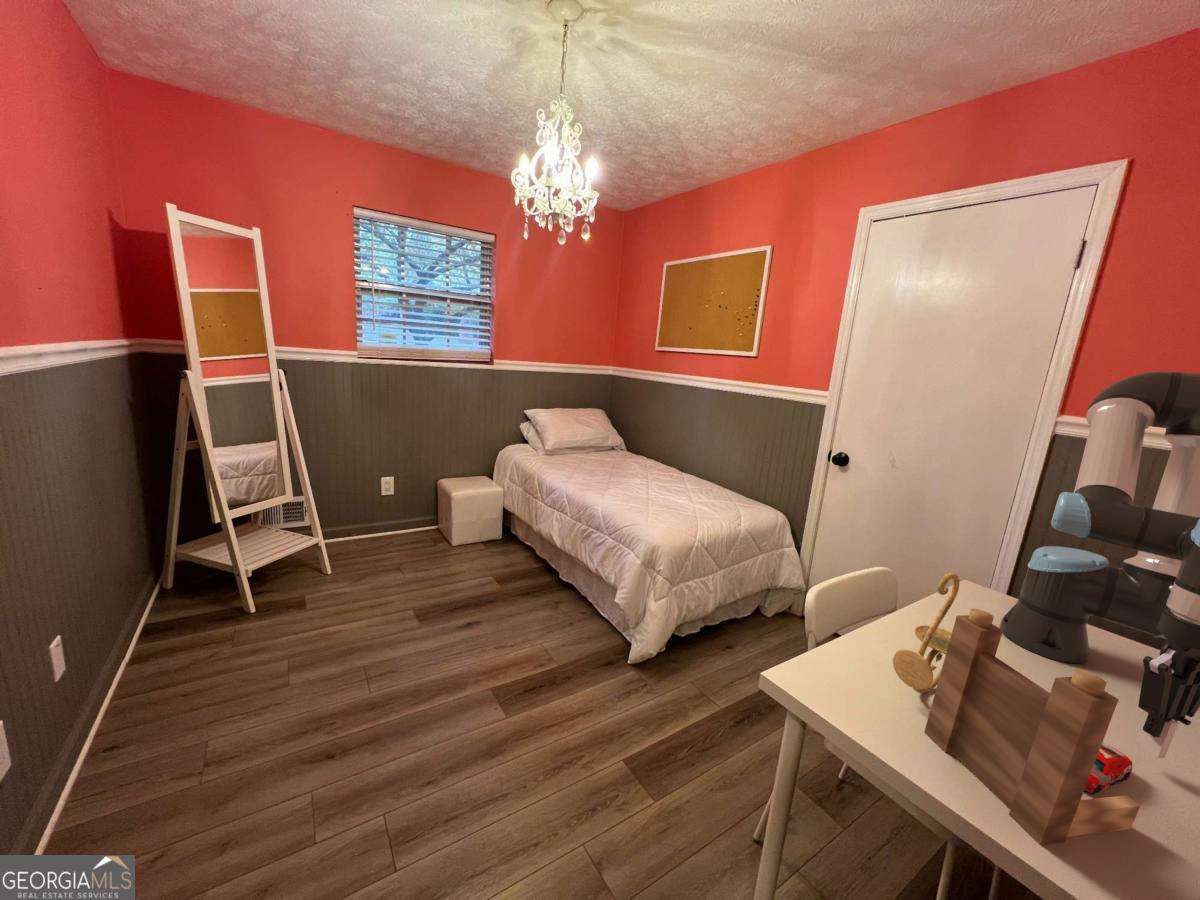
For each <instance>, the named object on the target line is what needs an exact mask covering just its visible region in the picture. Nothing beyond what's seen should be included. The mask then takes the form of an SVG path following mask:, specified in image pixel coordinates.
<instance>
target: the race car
mask: <svg viewBox="0 0 1200 900" xmlns="http://www.w3.org/2000/svg"><path fill="white" fill-rule="evenodd" d="M1132 772H1133V761H1132V760H1131V759H1130V758H1129V756H1127V755H1126V754H1124V753H1123V752H1121V751H1119V750H1118V749H1117V748H1115V747H1113V746H1111V745H1110V744H1107V743H1106V742H1104V741H1103V742H1102V745H1101V747H1100V750H1099V753H1098V755H1097V758H1096V761H1095V763H1094V766H1093V768H1092V771H1091V774H1090V776H1089V779H1088V782H1087V784H1086V787H1085V790H1084V791H1086V792H1087V793H1091V794H1092V795H1095V794H1099V792H1100V791H1103V790H1106V789H1108V788H1111V787H1112V786H1115V785H1117V784H1119V783H1123V782H1124V781H1127V780H1128V779H1129V778H1130V777H1131V774H1132Z"/></svg>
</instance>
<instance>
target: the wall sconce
mask: <svg viewBox="0 0 1200 900" xmlns="http://www.w3.org/2000/svg"><path fill="white" fill-rule="evenodd" d="M951 579H952V586H951V590H950V592H949V587H947V586H946V585H947V583H948V582H950V580H951ZM959 589H960V578H959V576H958V575H957V573H955V572H948V573H947V574H945V575H943V576H942V578H941V579H940V581H939V583H938V584H937V589H936V591H937V593H938V594H939V595H941V596H945V595H947V594H948V593H949V595H948V597H947V599H946V601H945V602H944V604H943V605H942V607H941V609H940V610H939V612H938V613H937V615H936V616H935V618H934V619H933V622H931V625H917V626H916V627H914V630H913V632H914V635H915V637H916V638H917V639H918V640H919V641H920V642H921V644H920V647H919V649H918V651H915V650H912V649H908V648H903V649H902V648H901V649H899V650H898V651H896V652H895V653H894V654H893V657H892V667H893V669H894V672H895V674H896V676H897V677H898V678H899V679H900V681H902V683H904V684H905V685H907V686H908V687H910V688H912V689H913V690H914V691H915V692H916V693H918V694H925V693H929V691H932V690H933V689H934V688H937V685H938V681H939V677H940V674H941V670H942V667H943V665H942V666H941V668H940V670H939V672H938V673H937V675H936V676H935V677H934V674H933V671H935V670H936V669H937V666H936V665H934V664H932V662H933V660H934V659H935V663H937V662H939V661H941V660H942V659H943V654H944V655H946V652H947V649H948V645H949V642H950V638H951V634H952V632H951V631H950V630H946V629H944V628H941V627H939V626H940V624H941V623H942V621H943V620H944V617H945V616H946V614H947V613H948V612H949V610H950V608H951V607H952V605H953V603H954V601H955V600H956V598H957V595H958V593H959ZM928 647H929V648H931V650H930V652H928V654H927V656H926V658H925V657H924V656H925V653H926V651H927V648H928Z"/></svg>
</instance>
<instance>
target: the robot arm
mask: <svg viewBox="0 0 1200 900" xmlns="http://www.w3.org/2000/svg"><path fill="white" fill-rule="evenodd" d="M1087 408H1088V409H1087V410H1086V411H1087V412H1086V415H1085V418H1086V421H1087V424H1088V426H1090V427H1089V431H1088V435H1087V438H1086V441H1085V442H1086V443H1085V446H1084V451H1083V455H1082V458H1081V461H1080V462H1081V463H1080V467H1079V469H1078V475H1077V479H1076V483H1075V487H1074V490H1073V492H1069V491H1063V492H1060V494H1059V496H1058V498H1057V501H1056V504H1055V508H1054V512H1053V514H1052V518H1051V521H1050V523H1051V527H1052V528H1053V529H1055V530H1057V531H1059V532H1063V533H1066V534H1070V535H1072V536H1076V537H1078V538H1082V539H1089V540H1094V541H1098V542H1101V543H1106V544H1111V545H1114V546H1120V547H1122V548H1123V547H1124V548H1128V549H1132V550H1135V551H1137V554H1136V555H1135V556H1133V557H1130V558H1127V559H1124V560H1123V562H1122V565H1121V567H1117V566H1112V565H1110V562H1109V559H1108V558H1107V557H1105V556H1103V555H1101V554H1098V553H1094V552H1091V551H1088V550H1084V549H1078V548H1073V547H1067V546H1066V547H1065V546H1056V545H1055V546H1054V545H1053V546H1052V545H1051V546H1041V547H1037V548H1036V549H1035V550H1034V552H1032V556H1031V558H1030V561H1029V562H1028V563H1027V567H1028V568H1027V571H1026V575H1025V578H1024V580H1023V583H1022V586H1021V590H1020V593H1019V597H1018V599H1017V601H1016V603H1015V604H1014V605H1013V606H1012V607H1011V608H1010V609H1009V611H1008V612H1007V613H1005V615H1004V616H1003V617H1002V618H1001V621H1000V624H999V626H998V628H1000V629H1002V630H1003V632H1002V635H1004V636H1005V638H1007V639H1009V640H1010V641H1011V642H1013V643H1014V644H1016V645H1018V646H1020V647H1021V648H1024V649H1025V650H1028V651H1030V652H1032V653H1034V654H1037V655H1039V656H1042V657H1045V658H1048V659H1052V660H1054V661H1059V662H1063V663H1068V664H1084V663H1086V662H1087V660H1088V658H1089V655H1090V651H1091V649H1090V645H1089V644H1090V643H1089V636H1088V630H1087V629H1088V628H1087V624H1088V621H1089V618H1090V616H1092V617H1095V618H1099V619H1102V620H1103V621H1104V620H1105V621H1107V622H1111V623H1114V624H1118V625H1121V626H1123V627H1127V628H1131V629H1134V630H1137V631H1140V632H1142V633H1146V634H1149V635H1151V636H1153V637H1155V638H1160V639H1165V640H1166V641H1165V643H1164V644H1163V645H1162V647H1161V648H1160V649H1159V656H1157V657H1156V658H1153V657H1151V656H1149V655H1146V656H1144V657H1143V660H1142V663H1143V667H1144V671H1143V677H1142V681H1141V682H1142V683H1141V688H1140V694H1139V697H1138V699H1139V700H1138V704H1137V706H1138V708H1139V709H1141V710H1143V711H1144V712H1146V716H1145V717H1144V718H1145V719H1144V721H1143V724H1142V725H1141V729H1140V731H1139V734H1138V736H1137V739H1136V740H1135V742H1134V744H1135V745H1136V746H1137V747H1139V748H1141V749H1142V750H1144V751H1145V752H1147V753H1148V754H1150V755H1151V756H1153V757H1154V758H1156V759H1164V758H1165V757H1166V755H1167V752H1168V750H1169V747H1170V745H1171V743H1172V740H1173V738H1174V736H1175V733H1176V731H1177V729H1178V726H1179V723H1181V724H1183V725H1185V726H1190V725H1191V724H1192V721H1191V720H1189V719H1187V718H1186V716H1187V717H1189V718H1193V717H1194V716H1195V715H1196V713H1197V712H1198V710H1199V709H1200V373H1199V372H1197V373H1196V372H1194V373H1193V372H1177V371H1168V370H1167V371H1165V370H1160V371H1159V370H1157V371H1148V372H1142V373H1137V374H1134V375H1133V374H1132V375H1131V376H1127V377H1125V378H1122V379H1120V380H1118V381H1116V382H1114V383H1112V384H1110V385H1109V386H1107V387H1105V388H1104V389H1103V390H1101V391H1100V392H1099V393H1098V394H1097V395H1096V396H1094V397H1093V399H1092V400H1091V402H1090V404H1089V405H1088V407H1087ZM1150 427H1153V428H1159V429H1165V432H1164V435H1163V438H1164V439H1165V440H1166V441H1167V442H1168V443H1169V444H1170V445H1171V451H1170V454H1169V456H1168V460H1167V462H1166V463H1167V464H1165V465H1166V466H1165V468H1164V472H1163V475H1162V479H1161V481H1160V484H1159V486H1158V490H1157V494H1156V495H1155V500H1154V502H1153V506H1152V508H1150V507H1147V506H1141V505H1137V504H1134V499H1135V493H1136V487H1137V481H1138V474H1139V468H1140V463H1141V456H1142V450H1143V445H1144V444H1143V443H1144V438H1145V433H1146V432H1145V431H1146V430H1147V429H1149V428H1150Z"/></svg>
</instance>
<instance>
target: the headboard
mask: <svg viewBox="0 0 1200 900" xmlns="http://www.w3.org/2000/svg"><path fill="white" fill-rule="evenodd" d="M994 617H995V616H994V615H993V614H991V613H990V612H988V611H986V610H983V609H979V608H971V609H970V611H969V614H968V615H967V614H965V615H961V614H960V615H956V617H955V621H954V624H953V627H952V634H951V638H950V642H949V645H948V649H947V652H946V654H945V656H944V661H943V663H942V666H943V667H942V666H941V668H942V670H941V669H940V670H941V674H940V677H939V681H938V685H937V686H936V687H935V688H936V689H935V691H934V692H935V693H934V696H933V699H932V702H931V706H930V710H929V714H928V718H927V721H926V725H925V728H924V734H925V735H926V736H927V737H929V739H930V740H931V741H932V742H934V743H935V744H936V745H937V746H938V747H939V748H940V749H941V750H942V751H943V752H944V753H951V755H953V756H954V757H955V758H956V759H957V760H958V761H959V762H960V763H961V764H962V765H963V766H964V767H965V768H966V769H967V770H968V771H969V772H970V773H972V774H973V775H974V777H975V778H977V779H978V780H979V781H980V782H981V783H982V784H983V785H984V786H985V787H986V788H987V789H988V790H989V791H990V792H991V793H993V795H995V796H996V797H997V799H999V800H1000V801H1001V803H1003V805H1005V806H1006V807H1007V808H1008V809H1009V811H1008V812H1009V813H1008V815H1009V816H1010V817H1011V818H1012V819H1013V820H1014V821H1015V822H1016V823H1017V824H1018V825H1019V826H1020V827H1021V828H1022V829H1023V830H1024V831H1025V832H1026V833H1027V834H1028V835H1030V836H1031V838H1033V840H1035V841H1036V842H1037V844H1039V845H1040V846H1041V845H1048V844H1049V845H1050V844H1058V843H1065V842H1066V839H1067V838H1071V837H1079V836H1087V835H1096V834H1104V833H1112V832H1119V831H1127V830H1128V831H1129V830H1132V827H1133V826H1134V825H1133V824H1134V822H1135V820H1136V818H1137V816H1138V813H1139V810H1140V808H1141V805H1140V804H1139V803H1137V802H1136V801H1135V800H1134V799H1132V798H1131V797H1130V796H1128V795H1120V796H1119V795H1118V796H1109V797H1099V798H1091V799H1090V798H1089V799H1082V797H1083V794H1084V791H1085V787H1086V784H1087V782H1088V779H1089V776H1090V774H1091V771H1092V768H1093V766H1094V763H1095V761H1096V758H1097V755H1098V753H1099V750H1100V747H1101V745H1102V742H1103V743H1104V738H1105V737H1106V733H1107V732H1108V729H1109V726H1110V723H1111V721H1112V718H1113V715H1114V713H1115V710H1116V708H1117V705H1118V702H1119V698H1117V697H1116V696H1114V695H1112V694H1111V693H1109V692H1108V691H1106V690H1105V689H1106V686H1107V681H1106V680H1105V679H1103V678H1102V677H1101V676H1099V675H1096V674H1095V673H1092V672H1090V671H1088V670H1084V669H1075V670H1074V672H1073V674H1072V676H1063V677H1061V676H1060V677H1054V681H1053V684H1052V687H1051V690H1050V692H1049V691H1048V690H1046V689H1045V688H1043V687H1042V686H1040V685H1039V684H1037V683H1036V682H1035V681H1033V680H1031V679H1029V678H1028V677H1027V676H1025V675H1023V674H1022V673H1021V672H1019V671H1018V670H1016V669H1014V668H1013V667H1012V666H1010V665H1008V664H1007V663H1006V662H1004V661H1003V660H1002V659H999V658H998V657H997V656H996V655H997V652H998V648H999V645H1000V643H1001V639H1002V636H1003V633H1002V632H1003V630H1002V629H1000V628H999V626H997V625H995V624H994V623H993V621H994Z"/></svg>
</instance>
